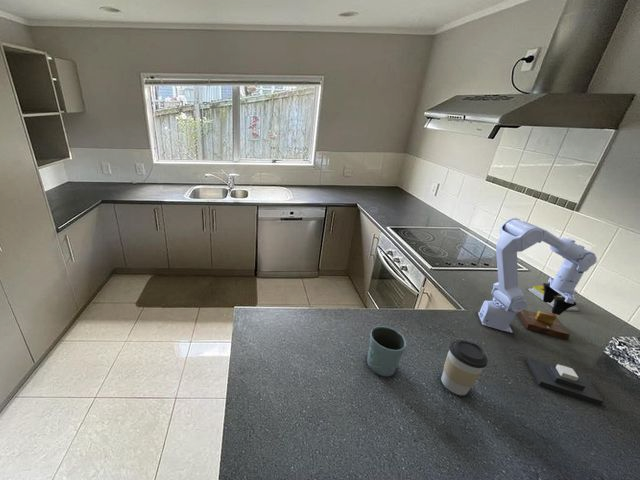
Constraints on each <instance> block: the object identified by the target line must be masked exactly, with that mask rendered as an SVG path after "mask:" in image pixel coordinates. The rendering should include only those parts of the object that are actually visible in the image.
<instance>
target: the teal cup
mask: <svg viewBox="0 0 640 480" xmlns="http://www.w3.org/2000/svg"><path fill="white" fill-rule="evenodd" d="M406 348H407V340H406V338H405V337H404V335H403V334H402V333H401V332H399V331H398V330H396V329H395V328H393V327H390V326H385V325H378V326H374V327H373V328H372V329H371V331H370V335H369V346H368V350H367V351H368V352H367V358H366V361H367V365H368V368H369V369H370V370H372V372H374V373H375V374H377V375H379V376H381V377H391V376H393V375H394V374H395V372H396V370H397V368H398V365H399V363H400V360H401V358H402V355H403V354H404V351H405V350H406Z"/></svg>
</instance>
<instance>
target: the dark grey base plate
mask: <svg viewBox="0 0 640 480" xmlns="http://www.w3.org/2000/svg"><path fill="white" fill-rule="evenodd" d="M526 363H527V365H528V367H529V369H530V372H531V373H532V375H533V377H534V379H535V381H536V383H537V385H538V386H540V387H542V388H543V387H544V388H545V389H549V390H553V391H556V392H558V393H561V394H565V395H568V396H570V397H573V398H576V399H580V400H583V401H586V402H589V403H592V404H596V405H598V406H602V404H603V403H604V400H603V398H602V396H600V394H599V393H598V391H597V390H596V389H595V387H594V386H593V384H592V383H591V381H590V380H589V379H588V377H587V376H586V374H585V373H581V372H578V371H576V370H575V369H573V370H574V371H575V373H576V374H577V376H578V377H579V378H578V379H577V381H574V380H570V379H567V378H564V377H561V376H560V375H559V373H558V372H557V370H556V369H555V367H556V366H557V364H556V363H553V362H549V361H547V362H544V361H542V360H538V359H534V358H532V357H528V358H527V359H526Z"/></svg>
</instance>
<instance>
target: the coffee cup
mask: <svg viewBox="0 0 640 480" xmlns="http://www.w3.org/2000/svg"><path fill="white" fill-rule="evenodd" d="M448 348H449V349H448V351H447V355H446V358H445V362H444V365H443V371H442V373H441V374H442V375H441V379H440V380H441V382H442V385H443V386H444V387H445V388H446V389H447V390H448V391H449V392H451V393H453V394H455V395H458V396H466V395H467V394H468V393H469V391H470V389H471V388H472V387H473V386H474V385H475V383H476V382H477V380H478V379H479V377H480V376H481V375H482V373H483V371H484V369H485V368H486V367H487V365H488V362H489V361H488V357H487V356H486V354H485V353H484V351H483V348H482V347H481V346H479V345H478V344H476V343H475V342H474V343H473V342H470V341H467V340H465V339H464V340H461V339H460V340H458V339H457V340H454V341H451V343H450V344H449V346H448Z"/></svg>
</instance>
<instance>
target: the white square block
mask: <svg viewBox="0 0 640 480" xmlns="http://www.w3.org/2000/svg"><path fill="white" fill-rule="evenodd" d="M556 365H557V366H556V367H555V369H556V370H557V372H558V373H559V375H560V376H561V377H564V378H567V379H570V380H574V381H577V379H578V378H579V377H578V376H577V374H576V373H575V372H576V370H575V369H574V368H571V367H569V366H566V365H562V364H559V363H557V364H556ZM574 370H575V371H574Z"/></svg>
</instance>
